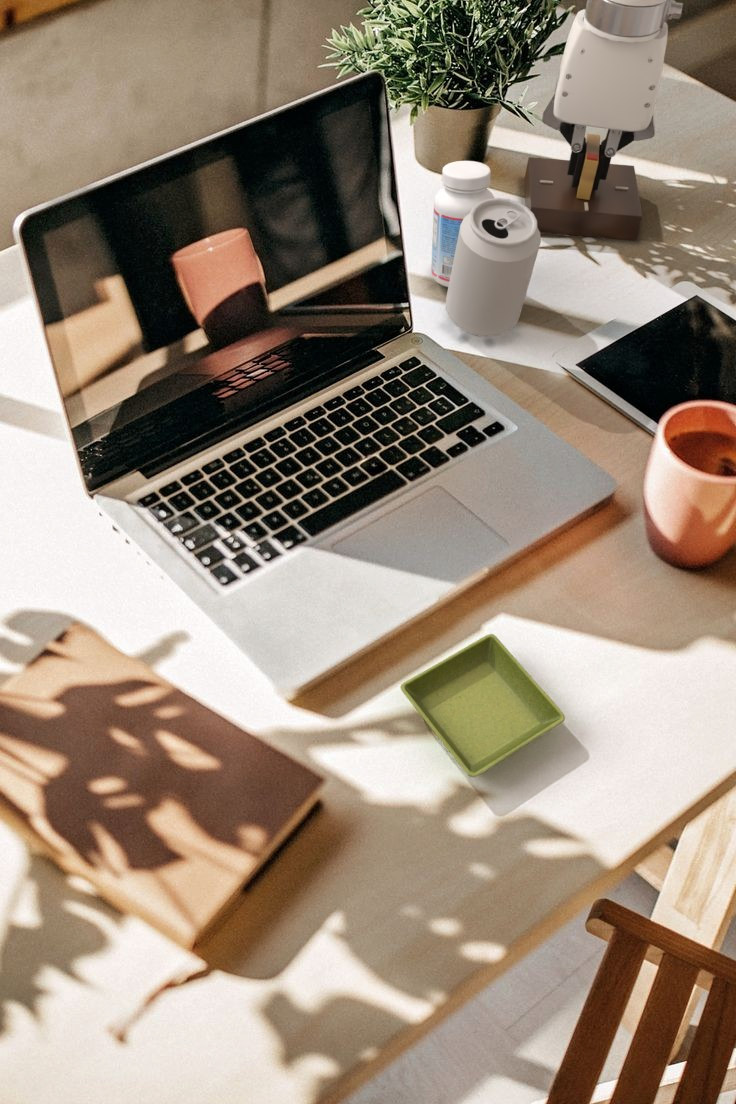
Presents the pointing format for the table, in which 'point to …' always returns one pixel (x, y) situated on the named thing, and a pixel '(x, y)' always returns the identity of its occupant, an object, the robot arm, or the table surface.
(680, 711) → the table surface
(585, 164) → the tap handle
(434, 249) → the pill bottle
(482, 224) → the can
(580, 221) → the base
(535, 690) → the green square dish
